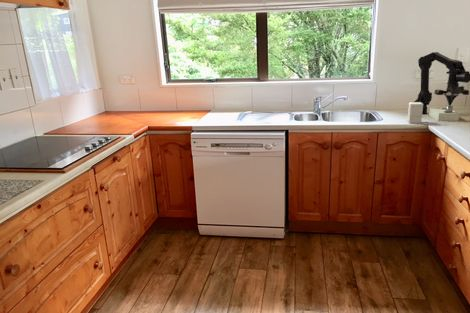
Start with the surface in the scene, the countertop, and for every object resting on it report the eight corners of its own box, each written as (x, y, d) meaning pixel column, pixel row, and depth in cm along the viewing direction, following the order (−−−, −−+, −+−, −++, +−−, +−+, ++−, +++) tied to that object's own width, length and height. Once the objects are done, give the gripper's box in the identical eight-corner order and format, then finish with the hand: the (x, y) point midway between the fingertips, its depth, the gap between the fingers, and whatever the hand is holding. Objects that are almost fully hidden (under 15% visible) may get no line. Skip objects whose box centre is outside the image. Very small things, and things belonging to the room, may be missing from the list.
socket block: (438, 120, 238) (439, 113, 237) (428, 114, 257) (429, 107, 256) (458, 120, 236) (459, 113, 235) (447, 114, 255) (448, 107, 253)
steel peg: (446, 113, 238) (447, 106, 237) (444, 112, 242) (445, 105, 240) (452, 113, 237) (454, 106, 236) (450, 112, 241) (451, 105, 240)
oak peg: (439, 115, 250) (440, 108, 249) (437, 114, 254) (438, 107, 253) (445, 115, 250) (446, 108, 248) (443, 114, 253) (444, 107, 252)
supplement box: (418, 121, 239) (421, 102, 235) (421, 123, 232) (423, 104, 229) (406, 121, 241) (408, 102, 237) (408, 123, 234) (410, 103, 231)
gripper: (441, 82, 228) (438, 107, 232) (474, 82, 224) (470, 107, 229) (435, 80, 238) (432, 104, 243) (467, 80, 234) (463, 104, 239)
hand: (449, 105), depth 238 cm, fingers closed
